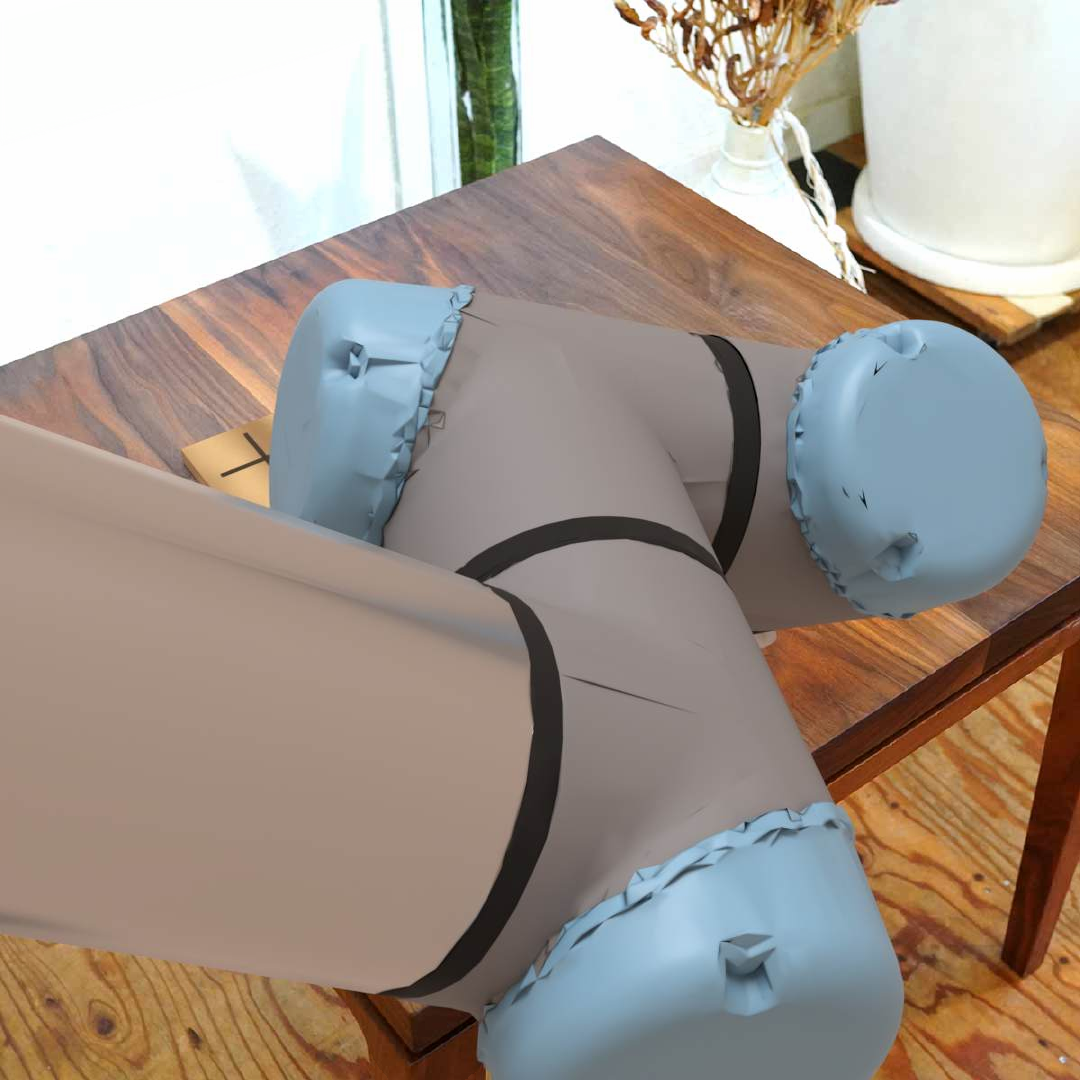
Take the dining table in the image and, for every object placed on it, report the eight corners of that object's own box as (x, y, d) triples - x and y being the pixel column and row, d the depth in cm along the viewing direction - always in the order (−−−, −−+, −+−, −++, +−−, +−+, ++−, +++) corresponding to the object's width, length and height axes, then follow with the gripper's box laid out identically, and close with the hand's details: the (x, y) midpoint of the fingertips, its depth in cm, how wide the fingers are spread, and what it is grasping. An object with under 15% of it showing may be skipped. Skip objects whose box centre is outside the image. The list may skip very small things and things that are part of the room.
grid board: (331, 653, 80) (328, 636, 79) (183, 463, 92) (179, 447, 91) (627, 514, 88) (627, 498, 87) (454, 357, 100) (453, 341, 100)
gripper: (428, 785, 46) (274, 777, 66) (955, 512, 55) (679, 577, 76) (331, 567, 46) (206, 625, 66) (877, 329, 55) (621, 444, 75)
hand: (459, 600), depth 71 cm, fingers closed on coffee box, 11 cm apart
